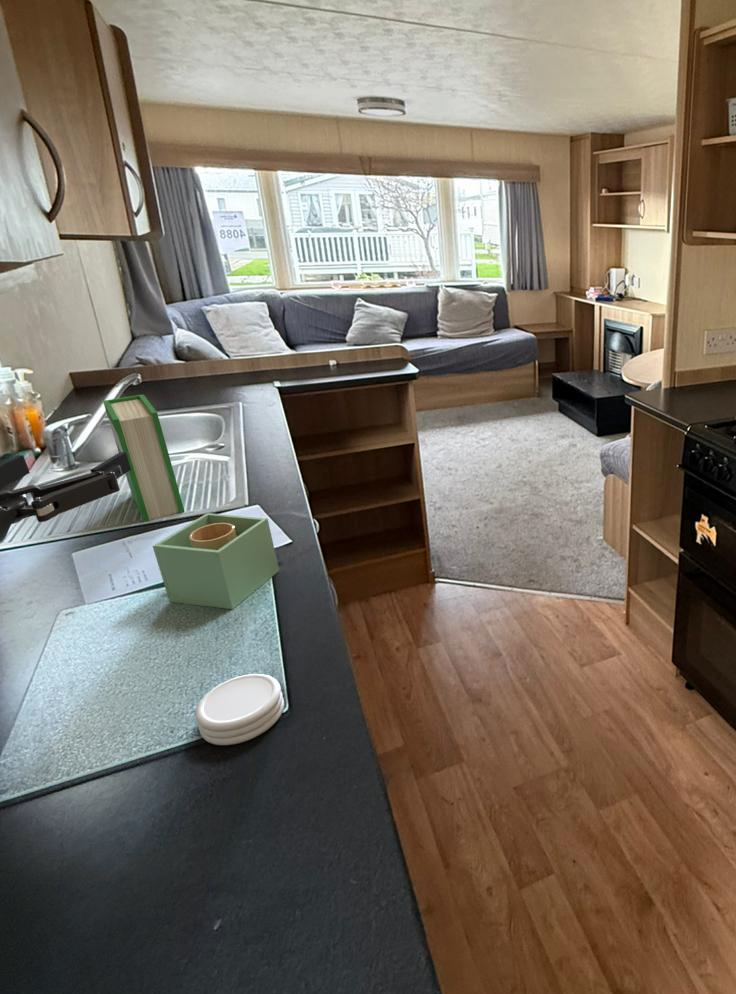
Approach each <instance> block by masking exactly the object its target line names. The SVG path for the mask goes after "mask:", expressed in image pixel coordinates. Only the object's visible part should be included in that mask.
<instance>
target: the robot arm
mask: <svg viewBox="0 0 736 994" xmlns="http://www.w3.org/2000/svg"><path fill="white" fill-rule="evenodd" d="M130 470H131V467H130V464H129V461H128V457H127V454H126V452H120V453H119V452H118V453H116V454H114V455H113V456H111V457H109V458H108V459H106V460H105V461H103V462H101V463H99V464H98V465H96V466H94V467H93V468H91V469H89V471H90V473H85V474H81V475H79V476H75V477H71V478H67V479H64V480H60V481H56V482H53V483H49V484H45V485H42V486H37V485H35V484H31V485H27V486H23V487H18V488H16V489H12V490H7V489H6V490H5V489H4V490H1V489H3V488H4V487H6V486H9V485H10V484H12V483H14V482H16V481H18V480H19V479H21V478H24V477H25V476H27V475H29V474H30V473H31V472H30V469H29V467H28V464H27V461H26V458H25V456H24V454H17V455H15V456H13V457H11V458H9V459H7V460H5V461H2V462H1V463H0V544H2V543H3V541H5V539H6V537H7V536H8V533H9V530H10V528H11V526H12V525H14V524H18V523H20V522H22V520H25V519H27V518H30V517H35V518H36V520H37V522H38V523H45V522H47V521H50V520H52V519H53V518H55V517H57V516H58V515H61V514H63V513H66V512H68V511H70V510H74V509H75V508H78V507H81V506H83V505H86V504H89V503H91V502H94V501H96V500H99V499H101V498H105V497H107V496H110V495H112V494H115V493H118V492H119V491H121V489H120V485H119V481H118V479H119V478H121V477H122V476H124V475H126V474H125V473H127V472H128V471H130ZM27 494H30V495H31V497H32V501H31V502H30V503H29V501H28V497H27V496H26V495H27Z"/></svg>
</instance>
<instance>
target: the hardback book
mask: <svg viewBox="0 0 736 994" xmlns="http://www.w3.org/2000/svg"><path fill="white" fill-rule="evenodd" d="M102 403H103V406H104V409H105V412H106V417H107V419H108V423H109V425H110V428H111V431H112V435H113V438H114V440H115V444H116V448H117V451H118V453H120V452H126V454H127V457H128V461H129V464H130V467H131V470H130V471H128V472H127V473H125V474H124V475H125V477H126V480H127V484H128V487H129V490H130V494H131V497H132V498H133V501H134V503H135V505H136V507H137V509H138V512H139V514H140V516H141V518H142V520H143V522H144V523H148V522H150V521H151V520H154V519H158V518H163V517H166V516H170V515H174V514H177V513H179V514H182V513H185V512H186V511H185V508H184V504H183V499H182V497H181V494H180V489H179V486H178V483H177V479H176V476H175V475H176V474H175V471H174V467H173V465H172V461H171V457H170V454H169V450H168V446H167V443H166V438H165V436H164V431H163V429H162V424H161V422H160V418H159V413H158V411H157V409H155V407H154V406H153V405H152V404H151V402H150V401H149V400H148V398H147V397H146V396H145V394H137V395H131V396H124V397H118V398H111V399H106V400H102Z"/></svg>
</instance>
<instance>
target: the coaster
mask: <svg viewBox="0 0 736 994" xmlns="http://www.w3.org/2000/svg"><path fill="white" fill-rule="evenodd" d="M284 707H285V700H284V697H283V692H282V687H281V684H280V682H279V681H278V680H277V679H276V678H274V677H272V676H271V675H267V674H261V673H250V674H244V675H243V674H242V675H240V676H236V677H233V678H230V679H228V680H226V681H223V682H222V683H220V684H217V686H215V687H214V688H212V689H211V690H209V691H208V692H207V693H206V694H204V696H203V697H202V698H201V700H200V701H199V702H198V704H197V705H196V709H195V721H196V722H197V727H198V729H199V733H200V736H201V737H202V738H203V739H204V741H206V742H207V743H210V744H212V745H215V746H231V745H237V744H242V743H244V742H248V741H250V740H252V739H255V738H257V737H259V736H261V735H262V734H264V733H265V732H267V731H268V730H269V729H271V728H272V727H273V726H274V724H276V723H277V722H278V720H279V719H280V718H281V716H282V714H283V711H284Z"/></svg>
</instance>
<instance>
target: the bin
mask: <svg viewBox="0 0 736 994" xmlns="http://www.w3.org/2000/svg"><path fill="white" fill-rule="evenodd" d="M214 523H230V524H232V525H234V528H235V532H236V536H237V537H236V538H235V539H233V540H232V541H230V542H229V543H227V544H226V545H224V546H223V547H222V548H220V549H219V550H210V549H200V548H192V545H191V542H190V538H189V535H190V534H191V533H192V532H193V531H195V530H196V529H198V528H200V527H203V526H206V525H210V524H214ZM152 549H153V552H154V555H155V559H156V562H157V565H158V568H159V573H160V576H161V579H162V582H163V586H164V589H165V591H166V595H167V598H168V602H170V603H176V604H177V603H178V604H185V605H194V606H201V607H202V606H203V607H211V608H219V609H226V610H227V609H228V610H234V609H235V608H237V607H238V606H239V605H240V604H241V603H243V602H244V601H245V600H246V599H248V598H249V597H250V596H251V595H252V594H253V593H255V592H256V591H257V590H258V589H260V588H261V587H262V586H263V585H265V583H267V582H268V581H269V580H270V579H271V578H272V577H274V576H275V575H276V574H277V573H279V572H280V568H279V562H278V558H277V554H276V550H275V544H274V541H273V536H272V533H271V526H270V523H269V518H266V517H255V516H245V515H244V516H243V515H233V514H224V513H223V514H221V513H219V514H218V513H211V512H210V513H209V512H206V513H205V514H203V515H202V516H200V517H198V518H197V519H195V520H193V521H191V522H190V523H189V524H186V525H185V526H183V527H181V528H180V529H178V530H176V531H175V532H173V533H172V534H170V535H168V536H167V537H165V538H164V539H162V540H160V541H158V542H156V543H155V544H154V545H152ZM261 585H262V586H261ZM255 590H256V591H255Z"/></svg>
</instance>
